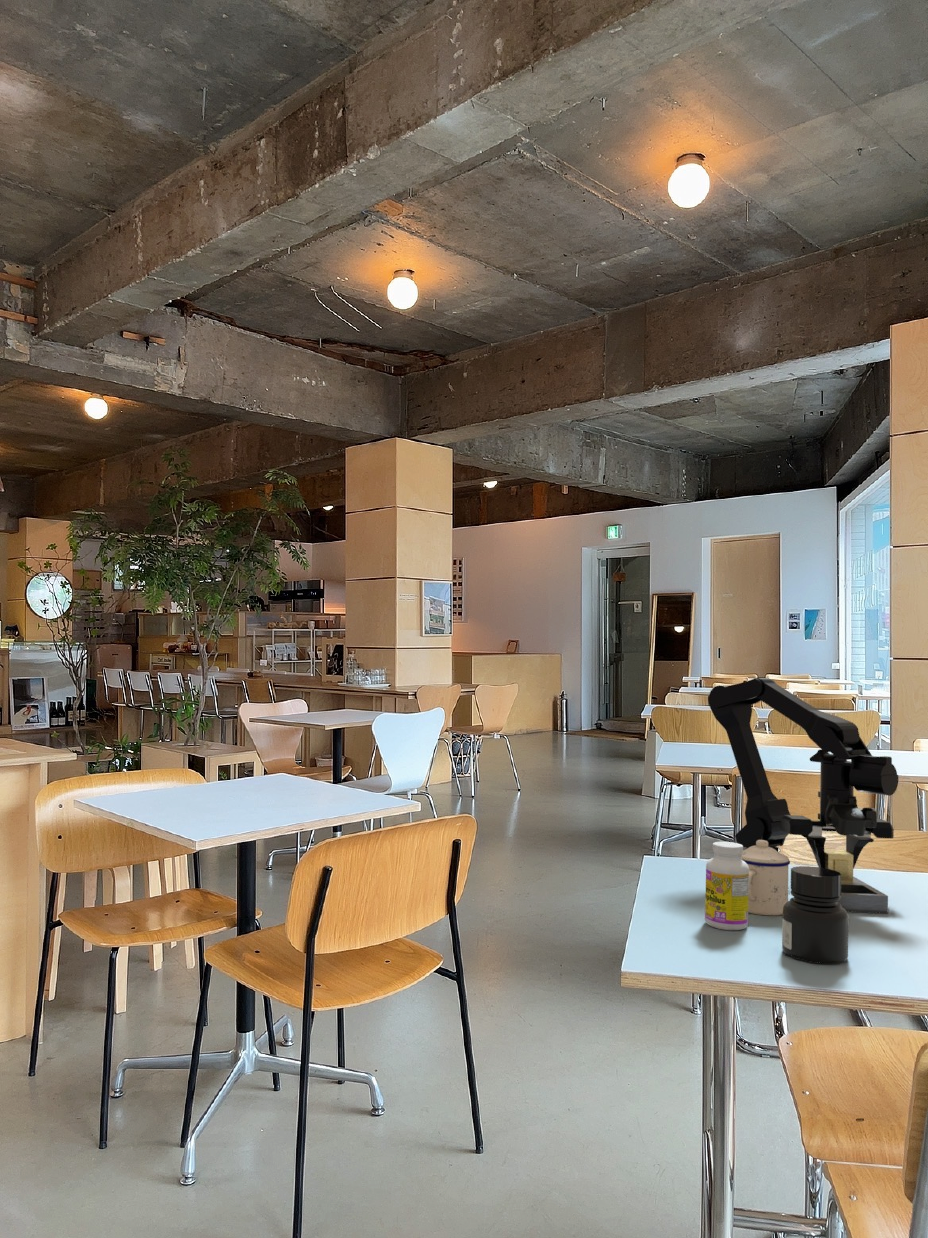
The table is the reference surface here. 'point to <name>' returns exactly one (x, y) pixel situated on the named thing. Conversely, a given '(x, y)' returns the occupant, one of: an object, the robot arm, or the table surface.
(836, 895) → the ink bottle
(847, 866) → the pale yellow block
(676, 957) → the table surface
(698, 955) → the table surface
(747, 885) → the supplement bottle
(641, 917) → the table surface
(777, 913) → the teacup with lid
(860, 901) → the dark grey tray
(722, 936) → the table surface
